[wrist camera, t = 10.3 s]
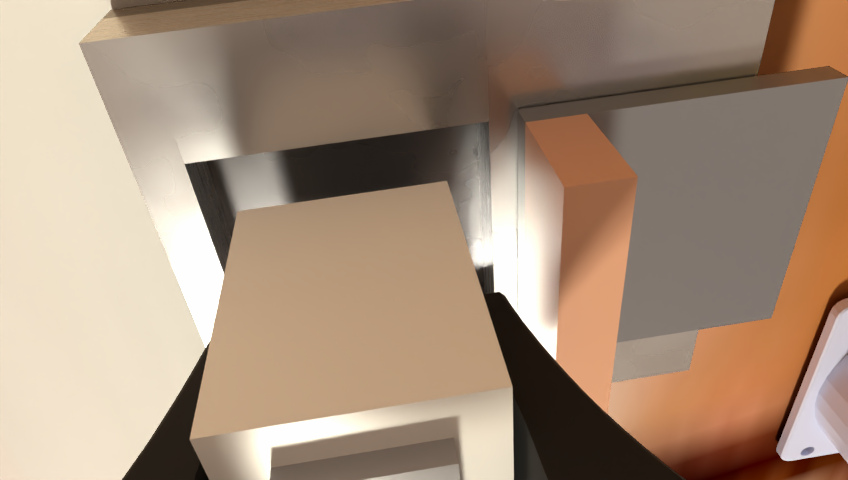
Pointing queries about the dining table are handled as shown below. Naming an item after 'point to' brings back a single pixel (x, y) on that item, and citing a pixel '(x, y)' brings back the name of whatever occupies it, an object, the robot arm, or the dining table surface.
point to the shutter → (663, 210)
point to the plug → (354, 347)
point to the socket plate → (383, 109)
